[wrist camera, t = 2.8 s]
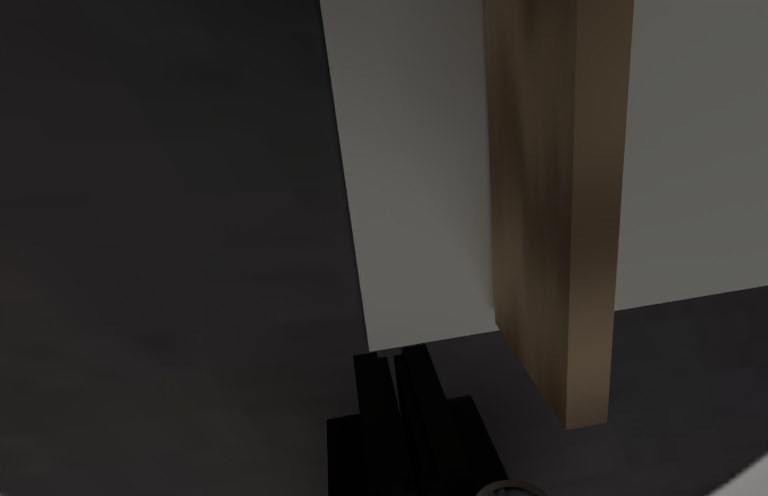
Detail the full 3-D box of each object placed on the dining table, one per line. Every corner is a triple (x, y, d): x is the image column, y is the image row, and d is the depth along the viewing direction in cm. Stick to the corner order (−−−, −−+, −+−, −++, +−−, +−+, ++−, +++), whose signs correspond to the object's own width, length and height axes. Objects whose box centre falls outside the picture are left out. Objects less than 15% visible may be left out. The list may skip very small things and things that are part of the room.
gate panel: (483, -20, 16) (579, -55, 10) (522, -25, 16) (638, -61, 10) (495, 322, 20) (566, 430, 14) (525, 317, 20) (606, 422, 15)
